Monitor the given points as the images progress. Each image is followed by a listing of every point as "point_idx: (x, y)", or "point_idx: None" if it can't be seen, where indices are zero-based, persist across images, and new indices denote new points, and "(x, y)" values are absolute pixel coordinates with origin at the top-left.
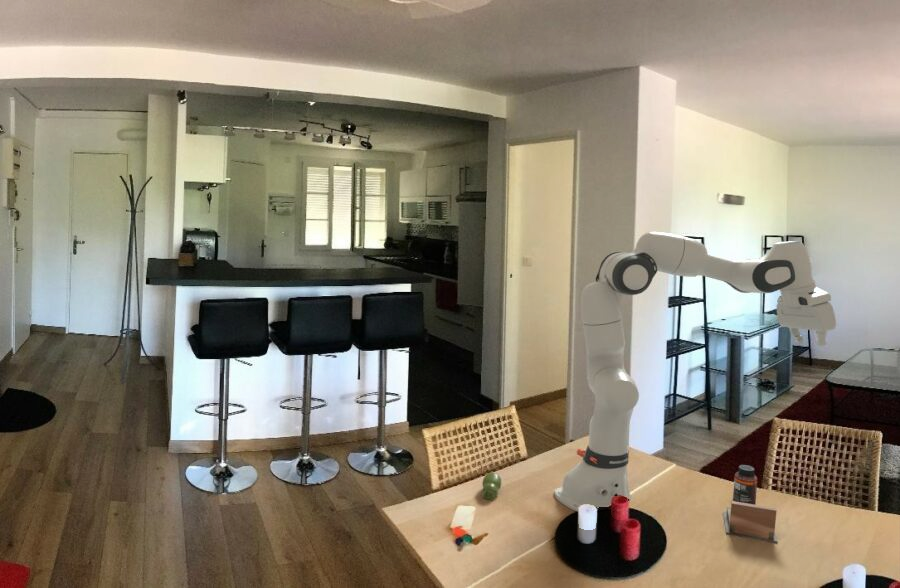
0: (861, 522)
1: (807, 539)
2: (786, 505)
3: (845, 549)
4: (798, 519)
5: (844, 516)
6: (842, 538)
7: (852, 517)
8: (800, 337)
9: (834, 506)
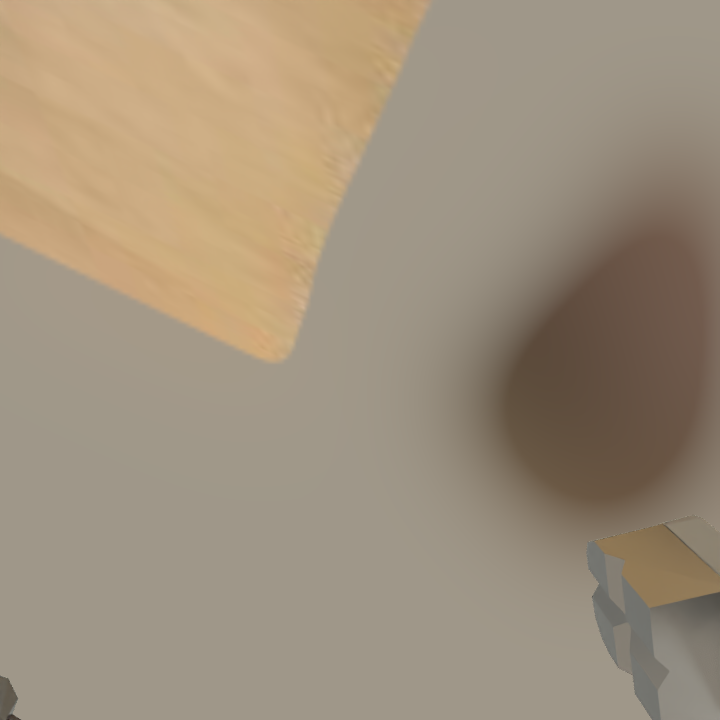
0: (215, 262)
1: (34, 13)
2: (292, 55)
3: (9, 120)
4: (184, 51)
5: (246, 229)
6: (84, 147)
7: (244, 251)
8: (638, 659)
9: (314, 232)
